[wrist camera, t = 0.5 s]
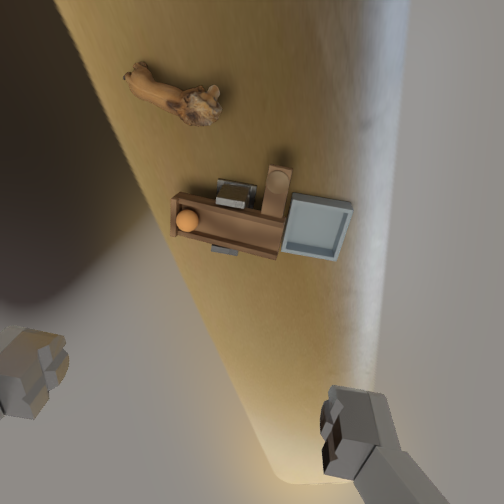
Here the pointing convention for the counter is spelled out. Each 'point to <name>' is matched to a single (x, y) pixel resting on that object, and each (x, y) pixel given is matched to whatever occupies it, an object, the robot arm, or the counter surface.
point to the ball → (187, 220)
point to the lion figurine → (176, 97)
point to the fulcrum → (233, 202)
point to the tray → (316, 226)
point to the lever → (239, 218)
